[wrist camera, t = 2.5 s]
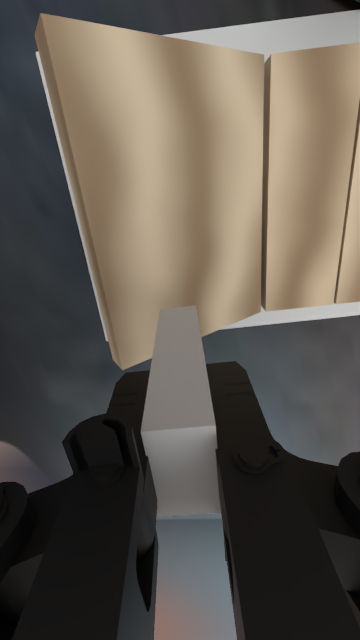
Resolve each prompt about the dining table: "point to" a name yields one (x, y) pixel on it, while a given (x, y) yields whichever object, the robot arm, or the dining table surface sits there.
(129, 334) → the plank
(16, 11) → the dining table surface
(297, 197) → the laid section
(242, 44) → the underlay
